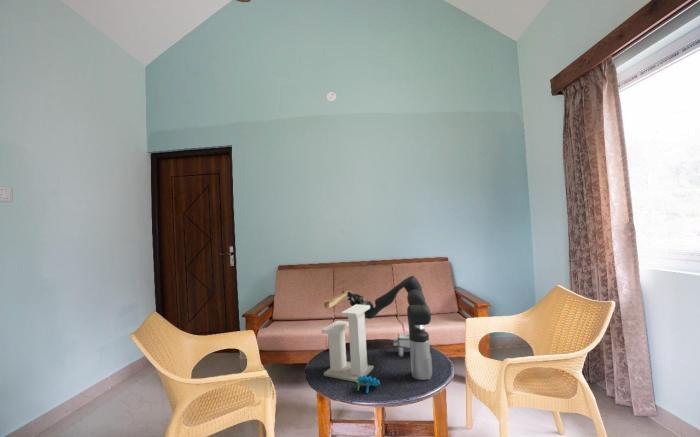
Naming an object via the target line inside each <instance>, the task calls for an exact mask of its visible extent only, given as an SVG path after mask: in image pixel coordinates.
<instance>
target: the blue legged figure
mask: <svg viewBox="0 0 700 437" xmlns="http://www.w3.org/2000/svg"><path fill="white" fill-rule="evenodd" d="M355 383H356V385H357V392H359V391H360V387H361V386H363V387H364V386H365V387H366V389H365V390H366V391H365V393H366V394H369V391H370V390H369V389H370V386H371V387H374V386H376V387H378V385H379V386H380V383H381V382H380V380H379V379H377V377H373V378H372V376H370V375H369V376H368V375H367V376H363V377H362V376H360V377H358V379H356V382H355Z"/></svg>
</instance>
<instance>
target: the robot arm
mask: <svg viewBox="0 0 700 437" xmlns="http://www.w3.org/2000/svg"><path fill="white" fill-rule="evenodd" d="M403 288H404V289H405V291H406V292H407V298H406V299H407V303H408V306H407V308H406V312H407V314H406V315H407V322H408V324H407V325H408V334H409V340H410V348H409V352H410V353H409V354H410V356H409V357H410V370H411V377H412V378H414V379H416V380H420V381H423V380H424V381H425V380H428V381H429V380H431V378H432V376H433V363H432V362H433V361H432V359H433V358H432V354H431V350H430V349H431V348H430V347H431V346H430V337H429V336H430V335H429V333H428V332H427V331H426V330H425V331H424V330H421V329H419V328H417V327H416V326H415V325H424V326H426V325H427V326H428V325H429V324H430V322H431V321H432V315H431V311H430V308H429V306H428V304H427V301H426V299H425V296H424V293H423V288H422V285H421V284H420V282H419V280H418V279H417V278H416V276H414V275H411V276H408V277H406V278H405V279H403V280H402V281H401V282H400V283H398V284H396V285H395V286H394V287H393V288H392V289H390V290H389V291H387V292H386V293H384V294H382V295H381V296H379V297H377V298H376V299H375V300H374V304H375V305H374V304H373V302H372V301H370V300H366V299H365V298H364V296H362V295H360V294H359V293H353V292H352V293H351V292H348V294H347V295H348V296H349V297H350V298H348V299H346V300H345V301H348V302H349V305H350V307H352V306H354V305H356V304H358V305H370V309H368V310H367V311H365V312H364V316H365V319H367V320H368V319H371V320H372V319H373V318H375V317H376V316H377V315H378V314H379V312H381V310H383V309H385V308H387V307H388V306H390V305H391V304H393V302H394V301H395V299H396V297H397V295H398V293H399V292H400V291H401V290H402V289H403ZM344 292H345V290H343V291H341V294H342V293H344Z"/></svg>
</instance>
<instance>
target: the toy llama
mask: <svg viewBox="0 0 700 437" xmlns="http://www.w3.org/2000/svg"><path fill="white" fill-rule="evenodd" d="M415 326H416V327H417V328H419V329H421V330H424V331H426V329H425V325H415ZM394 346H396V347H397V350H398V351H397V352H398V353H397V354H398V358H403V357H404V350H405V349H407V348H408V349H410V340H409V333H397V339H393V347H394Z"/></svg>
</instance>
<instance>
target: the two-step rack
mask: <svg viewBox="0 0 700 437" xmlns="http://www.w3.org/2000/svg"><path fill="white" fill-rule="evenodd" d="M368 309H370V305H358V304H356V305H354V306H350V307H349V308H347V309H346V310H343V311H341V312H340V313H341V317H347V320H348V321H345V320H336V321H333V323H331V324H329V325H327V326H325V327H324V328H322V329H321V334H326V335H328V347H329V348H328V349H329V366H330V368H328V369H327V370H325V371H324V372H323V376H324V377H327V378H328V377H329V378H334V379H339V380H345V381H348V382H349V381H350V382H352V383H353V382H354V383H356V379H358V377H360V376H362V377H363V376H366V377H368V375H369V374H370V373H371V372H372V371H373V370H374V368H375V367H374V365H370V364H368V355H367V353H368V352H367V336H366V335H367V334H366V316H365V314H364V312H365V311H367V310H368ZM346 328H348V334H349V339H348V340H349V353H350V361H349V360H348V361H347V350H346V334H345V333H346V332H345V330H346Z"/></svg>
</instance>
